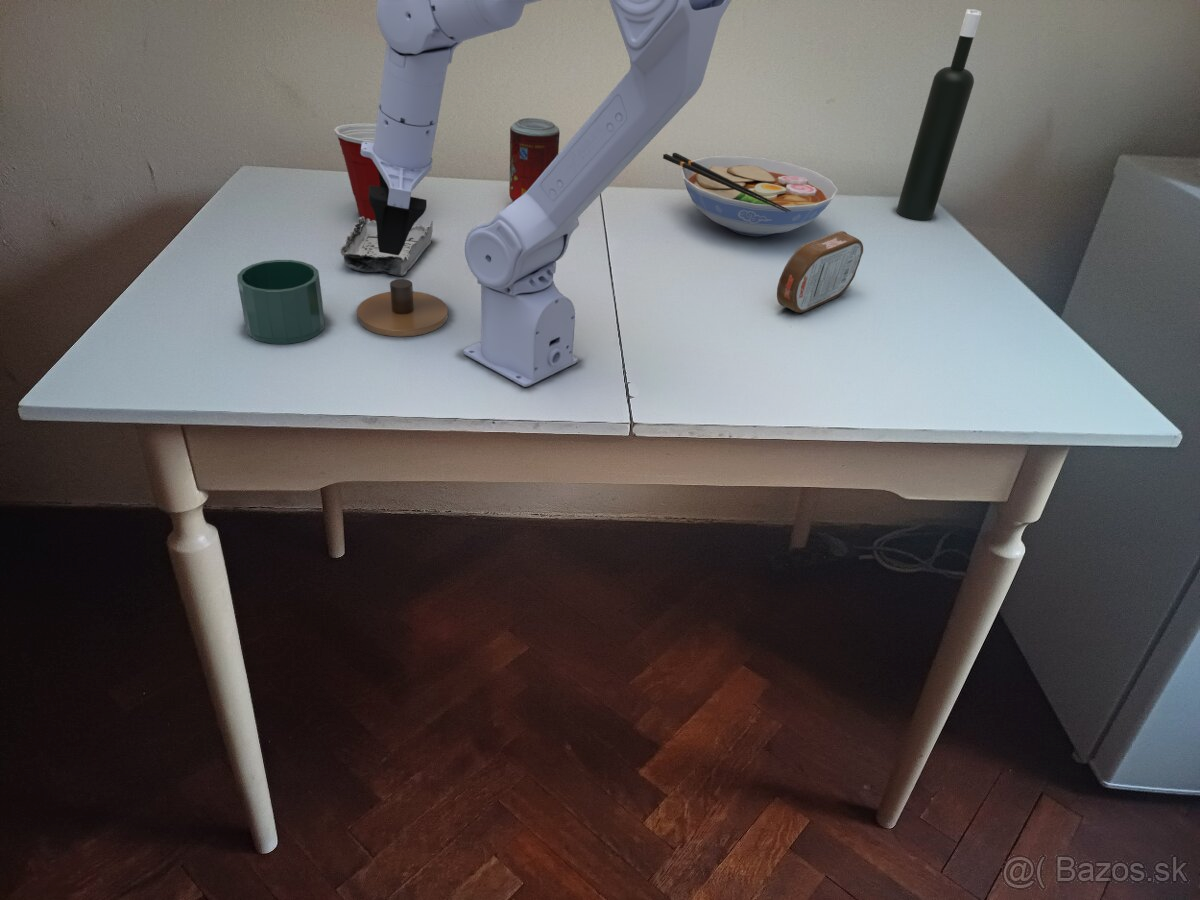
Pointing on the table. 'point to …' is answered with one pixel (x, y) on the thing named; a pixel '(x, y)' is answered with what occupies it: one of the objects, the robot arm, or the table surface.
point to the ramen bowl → (755, 192)
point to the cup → (281, 301)
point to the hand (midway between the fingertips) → (390, 232)
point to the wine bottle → (939, 129)
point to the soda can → (530, 152)
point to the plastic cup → (359, 164)
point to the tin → (819, 271)
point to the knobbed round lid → (402, 311)
